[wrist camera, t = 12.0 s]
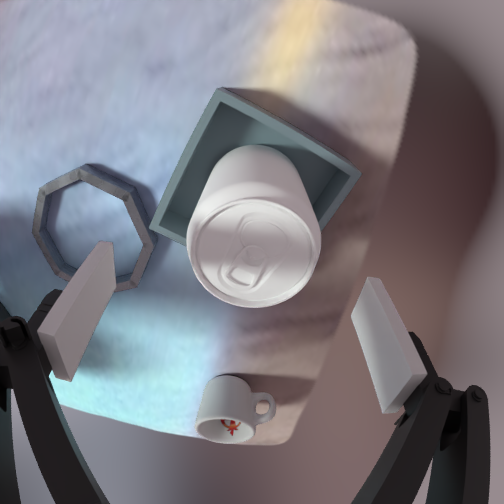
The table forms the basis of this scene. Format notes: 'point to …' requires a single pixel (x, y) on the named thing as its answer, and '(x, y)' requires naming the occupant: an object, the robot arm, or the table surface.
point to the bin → (241, 134)
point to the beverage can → (254, 229)
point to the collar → (111, 187)
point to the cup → (230, 410)
